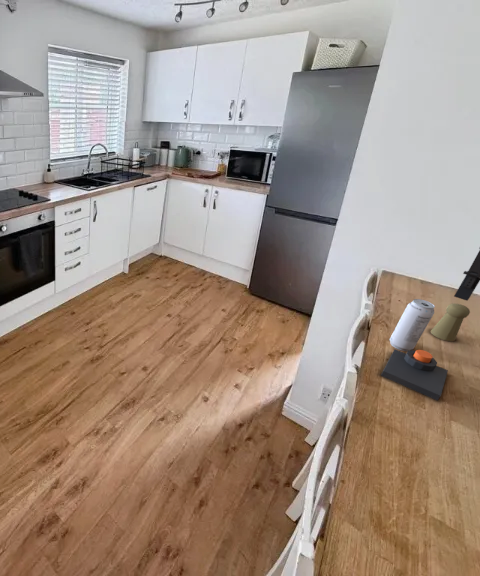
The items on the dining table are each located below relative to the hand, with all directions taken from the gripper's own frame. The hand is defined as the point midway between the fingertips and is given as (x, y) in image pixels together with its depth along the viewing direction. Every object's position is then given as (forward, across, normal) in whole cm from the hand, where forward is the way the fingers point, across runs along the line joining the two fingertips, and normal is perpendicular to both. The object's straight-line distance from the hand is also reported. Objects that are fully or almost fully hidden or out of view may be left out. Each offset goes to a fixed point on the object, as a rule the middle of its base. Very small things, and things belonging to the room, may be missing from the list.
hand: (461, 297), depth 96 cm
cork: (+20, -20, 0) cm, 28 cm away
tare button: (+17, +7, 0) cm, 19 cm away
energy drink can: (+20, -1, -6) cm, 21 cm away
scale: (+20, +12, 0) cm, 23 cm away
